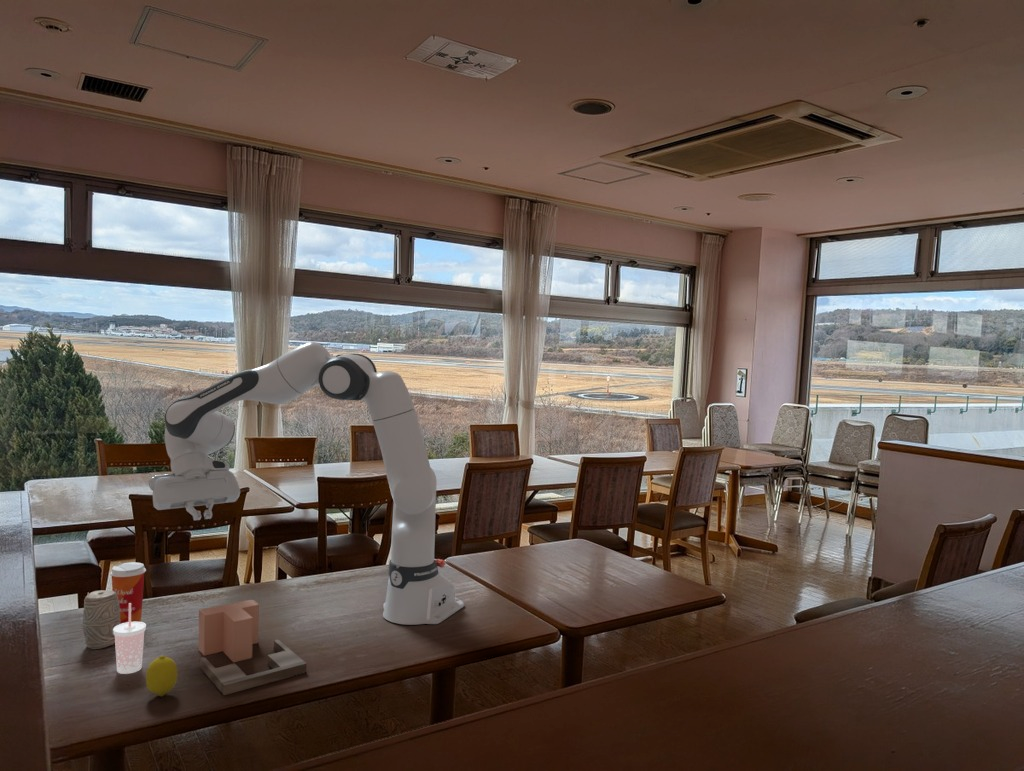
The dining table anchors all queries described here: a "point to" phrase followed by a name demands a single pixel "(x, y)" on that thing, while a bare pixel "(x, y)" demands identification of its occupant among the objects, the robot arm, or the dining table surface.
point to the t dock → (237, 680)
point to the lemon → (161, 675)
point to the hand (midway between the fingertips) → (203, 518)
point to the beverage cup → (129, 645)
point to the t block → (229, 629)
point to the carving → (100, 618)
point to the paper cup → (129, 589)
